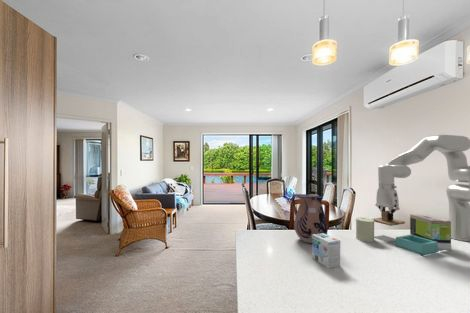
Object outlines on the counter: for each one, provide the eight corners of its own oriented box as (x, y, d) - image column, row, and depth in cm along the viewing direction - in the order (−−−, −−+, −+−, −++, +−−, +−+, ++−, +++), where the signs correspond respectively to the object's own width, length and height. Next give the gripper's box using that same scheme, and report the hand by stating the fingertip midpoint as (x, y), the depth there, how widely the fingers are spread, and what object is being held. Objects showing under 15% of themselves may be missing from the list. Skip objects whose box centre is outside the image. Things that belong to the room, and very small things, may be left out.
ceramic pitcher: (320, 249, 111) (320, 199, 112) (282, 239, 125) (283, 194, 126) (332, 240, 124) (332, 195, 125) (296, 232, 138) (296, 191, 139)
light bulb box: (311, 257, 101) (311, 233, 102) (323, 256, 104) (323, 232, 104) (328, 268, 91) (328, 241, 92) (341, 266, 93) (341, 240, 94)
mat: (383, 236, 133) (383, 235, 133) (401, 241, 124) (401, 240, 124) (372, 238, 130) (372, 237, 130) (389, 243, 120) (389, 242, 120)
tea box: (452, 250, 113) (451, 220, 113) (432, 249, 113) (431, 220, 113) (427, 240, 128) (427, 213, 128) (409, 239, 128) (409, 213, 128)
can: (370, 237, 130) (370, 217, 130) (377, 243, 121) (377, 221, 121) (353, 236, 131) (353, 216, 132) (359, 242, 122) (359, 220, 122)
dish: (410, 244, 121) (410, 234, 121) (437, 252, 109) (437, 242, 110) (396, 246, 116) (395, 237, 116) (422, 255, 105) (422, 245, 105)
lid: (384, 218, 135) (383, 208, 135) (404, 223, 124) (404, 212, 124) (370, 220, 130) (370, 210, 130) (390, 225, 120) (390, 214, 120)
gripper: (406, 188, 121) (407, 222, 121) (377, 185, 137) (378, 215, 136) (397, 188, 119) (398, 223, 118) (368, 185, 134) (369, 216, 133)
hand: (387, 219), depth 127 cm, fingers closed on lid, 3 cm apart
